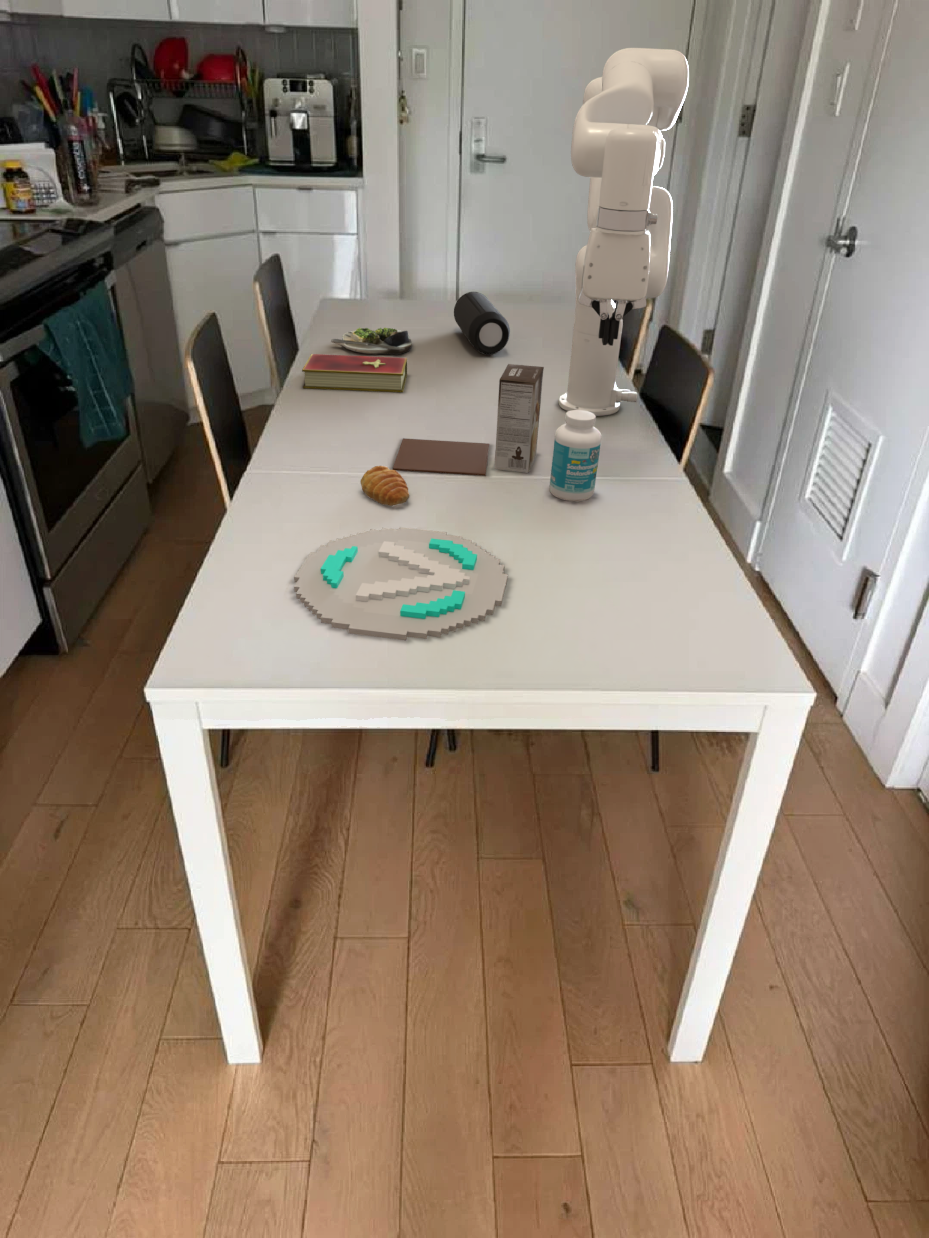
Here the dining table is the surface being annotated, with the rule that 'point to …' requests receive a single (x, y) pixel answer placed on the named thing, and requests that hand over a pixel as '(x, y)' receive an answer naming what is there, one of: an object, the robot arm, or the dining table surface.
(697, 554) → the dining table surface
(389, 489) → the pastry
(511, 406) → the coffee box
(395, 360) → the hardcover book
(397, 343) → the salad plate
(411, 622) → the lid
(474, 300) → the portable speaker
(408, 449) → the mat
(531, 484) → the dining table surface
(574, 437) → the pill bottle
